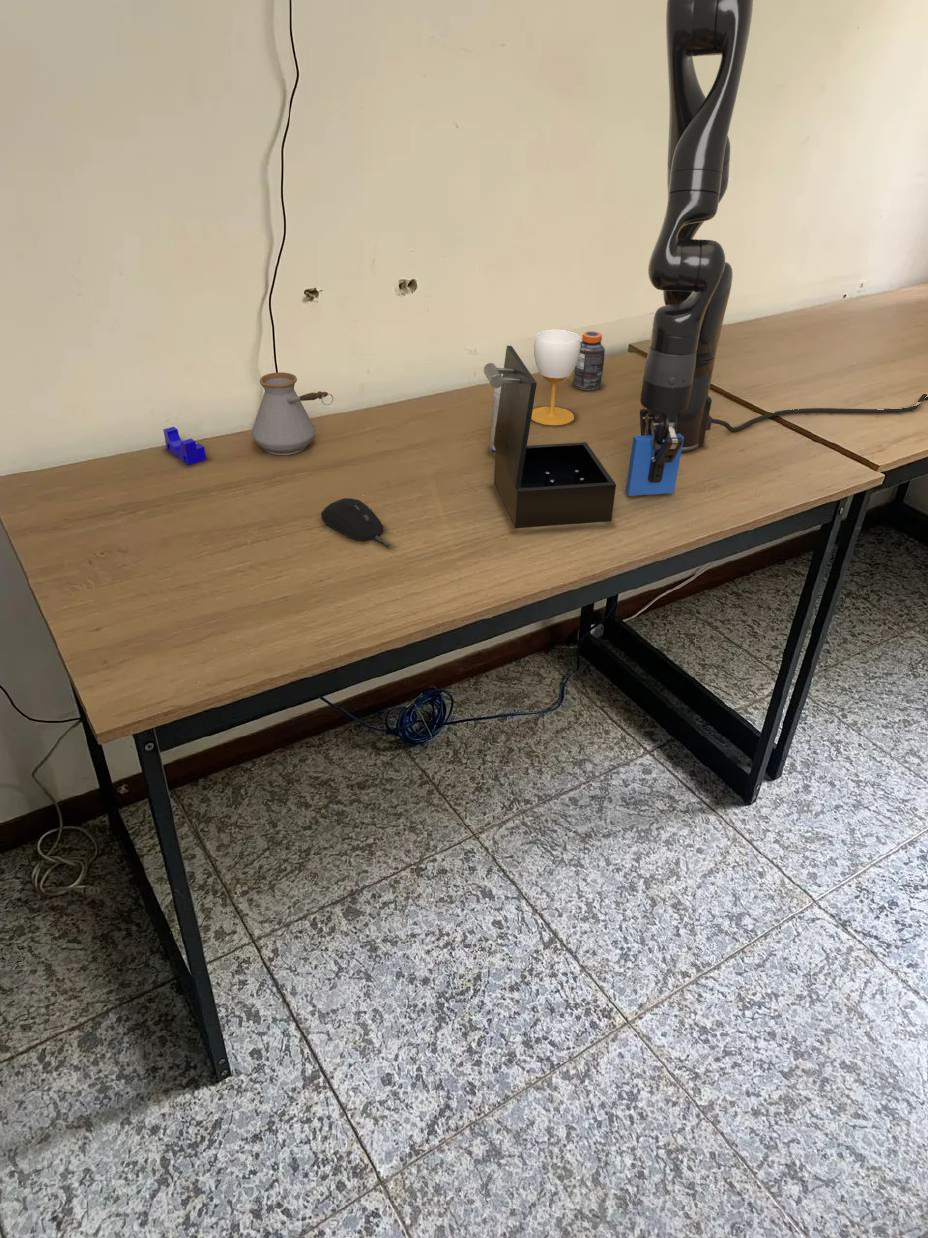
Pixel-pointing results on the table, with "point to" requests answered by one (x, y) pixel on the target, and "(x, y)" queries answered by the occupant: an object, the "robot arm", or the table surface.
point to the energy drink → (494, 415)
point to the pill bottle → (590, 362)
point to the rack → (553, 480)
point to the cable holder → (183, 447)
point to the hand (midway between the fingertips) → (652, 477)
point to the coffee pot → (283, 416)
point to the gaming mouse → (353, 519)
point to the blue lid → (640, 469)
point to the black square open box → (557, 487)
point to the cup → (555, 370)
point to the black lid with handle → (512, 412)
